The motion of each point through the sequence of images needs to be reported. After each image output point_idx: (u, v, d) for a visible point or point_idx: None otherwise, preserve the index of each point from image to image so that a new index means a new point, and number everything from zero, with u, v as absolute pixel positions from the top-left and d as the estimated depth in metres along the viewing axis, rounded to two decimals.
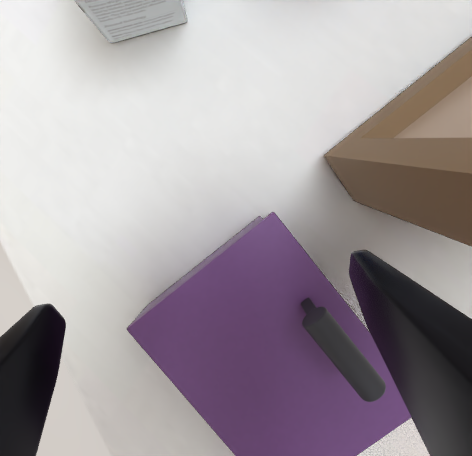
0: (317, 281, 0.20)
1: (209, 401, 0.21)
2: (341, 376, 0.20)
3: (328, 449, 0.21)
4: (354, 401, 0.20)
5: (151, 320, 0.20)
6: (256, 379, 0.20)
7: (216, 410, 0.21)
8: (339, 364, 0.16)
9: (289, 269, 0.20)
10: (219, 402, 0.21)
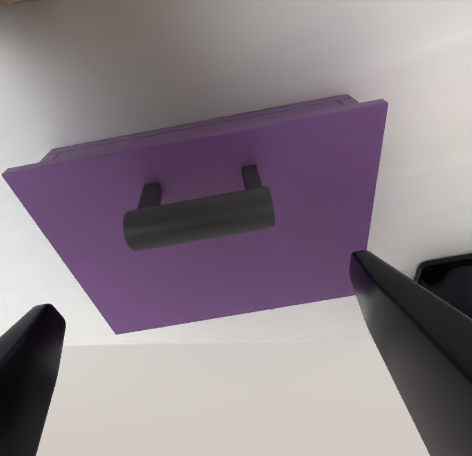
0: (125, 164, 0.13)
1: (219, 307, 0.20)
2: (270, 191, 0.15)
3: (341, 238, 0.17)
4: (310, 191, 0.15)
5: (114, 318, 0.20)
6: (220, 268, 0.18)
7: (231, 305, 0.20)
8: (203, 239, 0.12)
9: (95, 189, 0.14)
10: (224, 301, 0.19)
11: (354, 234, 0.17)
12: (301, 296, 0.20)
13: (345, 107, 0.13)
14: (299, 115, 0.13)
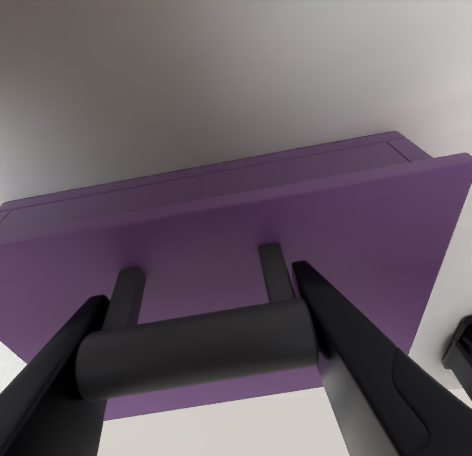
0: (90, 246, 0.09)
1: (223, 392, 0.16)
2: None
3: (386, 320, 0.13)
4: (351, 270, 0.11)
5: None
6: None
7: (239, 390, 0.16)
8: None
9: (50, 276, 0.10)
10: (231, 386, 0.15)
11: (404, 316, 0.13)
12: None
13: (413, 166, 0.09)
14: (345, 177, 0.09)
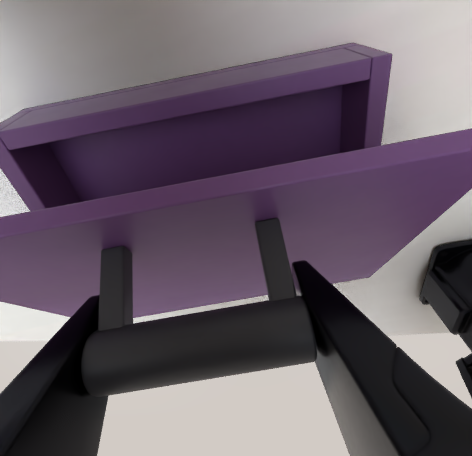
0: (62, 237, 0.08)
1: (213, 300, 0.18)
2: (292, 233, 0.10)
3: (369, 252, 0.13)
4: (348, 228, 0.10)
5: None
6: (216, 284, 0.14)
7: (227, 297, 0.17)
8: None
9: (23, 260, 0.09)
10: (220, 297, 0.17)
11: (387, 249, 0.13)
12: None
13: (449, 141, 0.07)
14: (365, 154, 0.07)
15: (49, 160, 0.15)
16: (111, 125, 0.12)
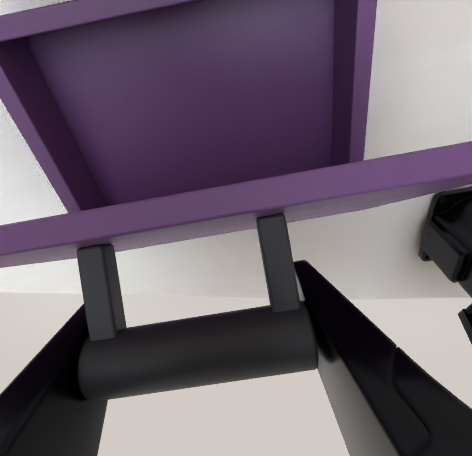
0: (25, 254, 0.06)
1: (203, 236, 0.17)
2: (296, 212, 0.09)
3: (371, 205, 0.12)
4: (358, 203, 0.09)
5: None
6: (207, 233, 0.14)
7: None
8: None
9: None
10: None
11: (391, 201, 0.12)
12: (298, 220, 0.17)
13: None
14: (406, 163, 0.06)
15: (34, 73, 0.15)
16: (92, 15, 0.12)
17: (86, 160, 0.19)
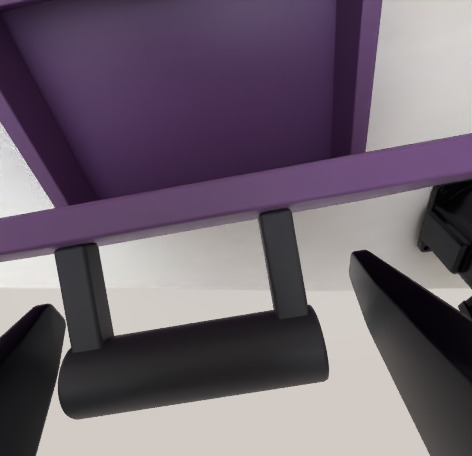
0: None
1: None
2: (300, 206, 0.08)
3: None
4: (369, 195, 0.08)
5: None
6: None
7: None
8: None
9: None
10: (205, 227, 0.16)
11: (398, 192, 0.12)
12: (297, 211, 0.16)
13: None
14: (438, 152, 0.05)
15: (10, 51, 0.14)
16: None
17: (71, 147, 0.17)
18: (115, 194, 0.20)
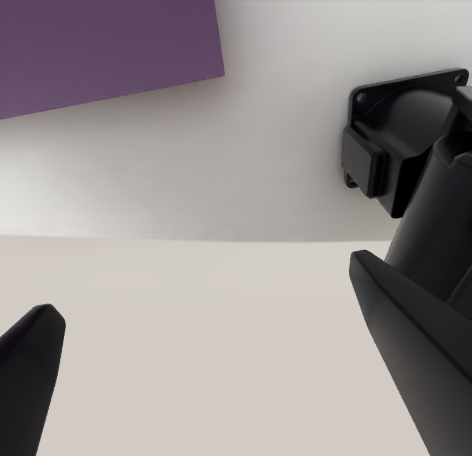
0: None
1: None
2: None
3: None
4: None
5: None
6: None
7: (8, 104, 0.12)
8: None
9: None
10: None
11: None
12: (125, 85, 0.12)
13: None
14: None
15: None
16: None
17: None
18: None
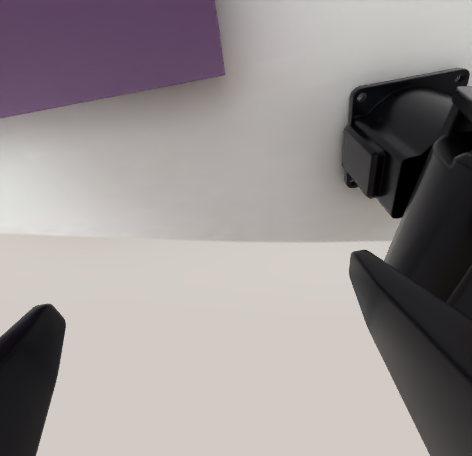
0: None
1: None
2: None
3: None
4: None
5: None
6: None
7: (8, 103, 0.12)
8: None
9: None
10: None
11: None
12: (125, 83, 0.12)
13: None
14: None
15: None
16: None
17: None
18: None
